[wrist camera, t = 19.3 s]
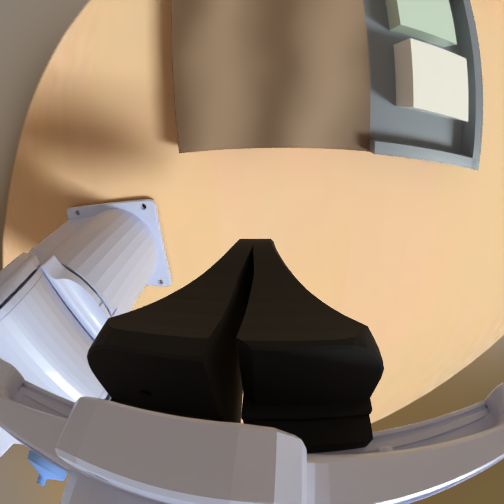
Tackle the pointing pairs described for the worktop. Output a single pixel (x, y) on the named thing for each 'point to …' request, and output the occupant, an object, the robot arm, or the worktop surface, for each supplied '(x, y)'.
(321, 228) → the worktop surface
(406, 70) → the cream tile
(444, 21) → the sage tile
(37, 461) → the water jug
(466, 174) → the worktop surface
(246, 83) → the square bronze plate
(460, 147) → the slate tray
